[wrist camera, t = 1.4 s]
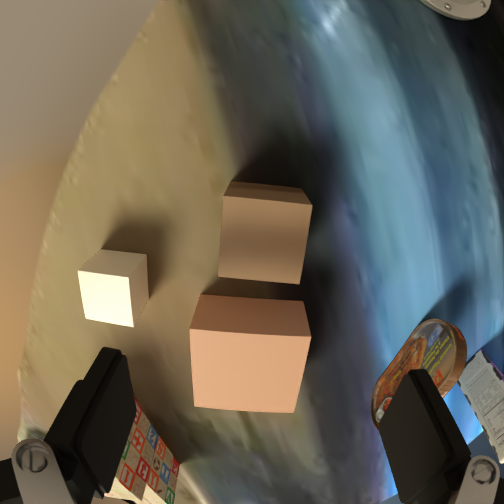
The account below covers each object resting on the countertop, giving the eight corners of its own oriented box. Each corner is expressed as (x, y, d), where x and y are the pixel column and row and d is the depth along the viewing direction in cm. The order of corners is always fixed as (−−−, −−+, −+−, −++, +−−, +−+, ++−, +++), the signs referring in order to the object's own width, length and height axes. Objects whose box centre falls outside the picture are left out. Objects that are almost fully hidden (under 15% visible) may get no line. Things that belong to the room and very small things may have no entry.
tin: (430, 303, 31) (465, 349, 23) (447, 310, 32) (483, 354, 24) (362, 397, 37) (378, 447, 29) (381, 400, 37) (398, 448, 29)
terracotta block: (200, 293, 31) (189, 328, 26) (302, 300, 31) (311, 336, 26) (202, 367, 35) (194, 406, 29) (289, 373, 35) (293, 412, 29)
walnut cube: (230, 180, 27) (223, 195, 21) (301, 188, 27) (312, 205, 21) (225, 246, 29) (218, 276, 24) (291, 253, 29) (299, 284, 24)
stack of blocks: (181, 464, 44) (170, 524, 33) (148, 462, 45) (134, 519, 33) (124, 378, 36) (92, 453, 25) (87, 378, 37) (51, 446, 25)
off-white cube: (101, 249, 29) (77, 270, 25) (146, 254, 30) (128, 277, 25) (105, 292, 31) (85, 318, 27) (149, 299, 31) (133, 327, 27)
